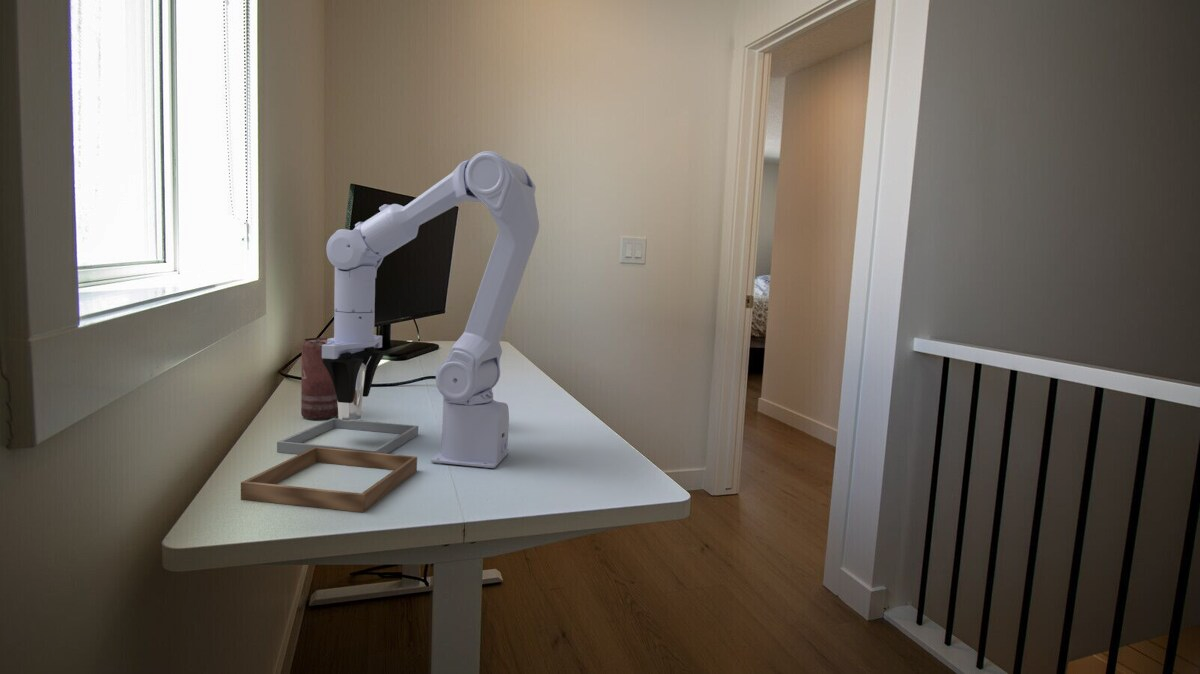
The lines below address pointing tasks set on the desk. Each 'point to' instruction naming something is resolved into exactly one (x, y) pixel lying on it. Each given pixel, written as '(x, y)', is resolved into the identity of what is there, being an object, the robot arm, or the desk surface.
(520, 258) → the robot arm
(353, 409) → the milkshake
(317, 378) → the can
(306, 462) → the brown wooden frame
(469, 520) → the desk surface
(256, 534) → the desk surface
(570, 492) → the desk surface
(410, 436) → the grey square frame
